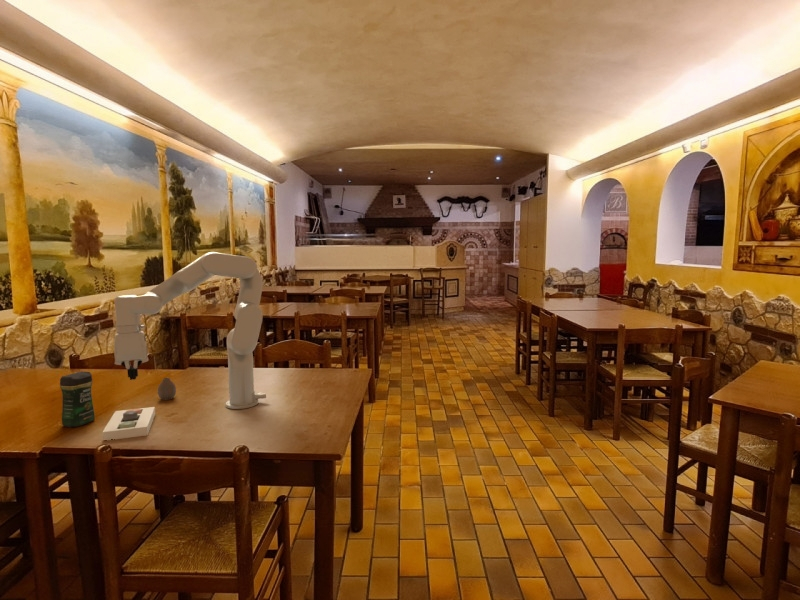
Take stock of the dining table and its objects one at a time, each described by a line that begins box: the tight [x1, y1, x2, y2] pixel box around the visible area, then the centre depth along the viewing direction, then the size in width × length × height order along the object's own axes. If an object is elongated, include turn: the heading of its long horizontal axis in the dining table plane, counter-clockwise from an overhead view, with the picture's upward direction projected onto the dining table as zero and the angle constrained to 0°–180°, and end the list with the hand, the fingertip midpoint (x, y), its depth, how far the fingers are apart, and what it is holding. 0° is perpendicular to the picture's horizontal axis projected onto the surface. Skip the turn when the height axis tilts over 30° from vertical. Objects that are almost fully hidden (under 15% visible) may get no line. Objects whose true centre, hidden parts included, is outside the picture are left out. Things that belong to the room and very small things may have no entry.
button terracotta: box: [127, 408, 141, 419], centre depth 170 cm, size 4×4×3 cm
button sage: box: [119, 421, 136, 429], centre depth 158 cm, size 4×4×3 cm
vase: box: [157, 377, 177, 401], centre depth 196 cm, size 7×7×9 cm
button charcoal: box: [122, 411, 138, 422], centre depth 164 cm, size 4×4×3 cm
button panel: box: [101, 406, 156, 441], centre depth 164 cm, size 13×22×3 cm, turn 22°
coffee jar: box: [59, 370, 96, 428], centre depth 167 cm, size 10×8×19 cm
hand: (133, 378), depth 169 cm, fingers closed
